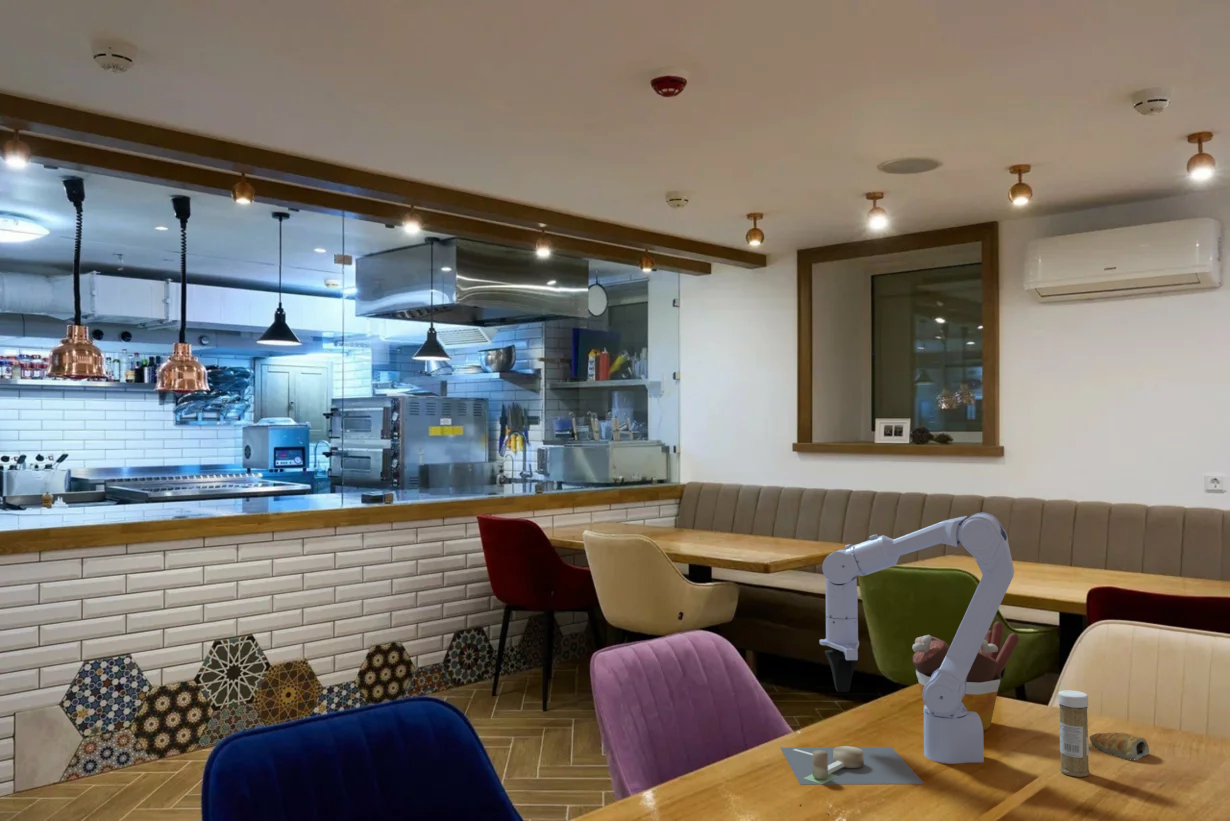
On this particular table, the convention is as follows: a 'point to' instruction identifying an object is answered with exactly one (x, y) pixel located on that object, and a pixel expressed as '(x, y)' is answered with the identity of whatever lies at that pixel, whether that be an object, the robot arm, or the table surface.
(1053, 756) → the table surface
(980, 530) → the robot arm
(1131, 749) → the pastry
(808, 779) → the dial board
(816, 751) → the crank handle
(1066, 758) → the spice jar
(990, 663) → the bucket of meat
